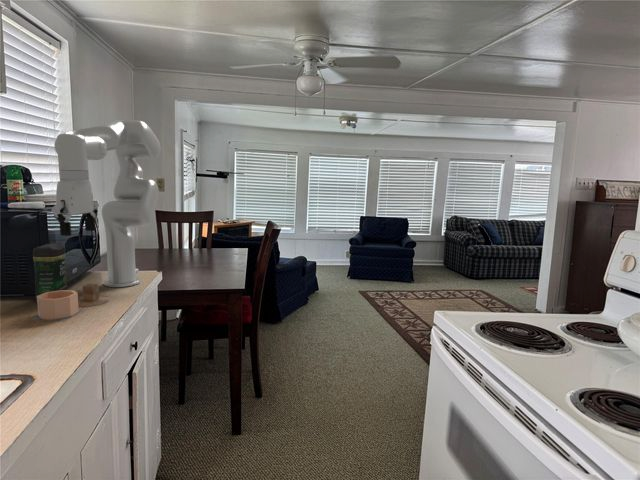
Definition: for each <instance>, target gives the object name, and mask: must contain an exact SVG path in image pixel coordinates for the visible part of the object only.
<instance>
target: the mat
mask: <svg viewBox="0 0 640 480" xmlns="http://www.w3.org/2000/svg"><path fill="white" fill-rule="evenodd" d="M84 311H86V309H79V312H78V313H77V314H76V315H74V316H72V317H69V318H65V319H59V320H42V319H40V318H39V315H37V316H35V317H33V318H31V319H29V321H43V322H44V321H49V322H66V321H68V320H69V319H71V318H73V317H75V316H77V315H79V314H81V313H83V312H84Z"/></svg>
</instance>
